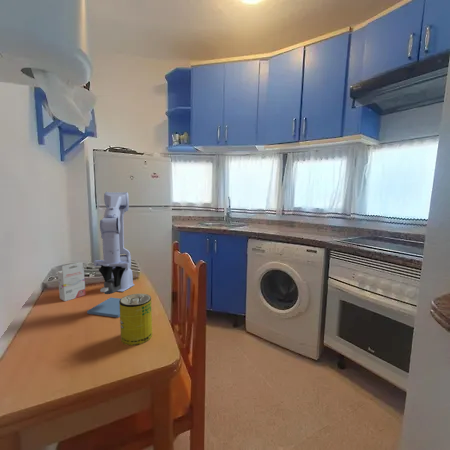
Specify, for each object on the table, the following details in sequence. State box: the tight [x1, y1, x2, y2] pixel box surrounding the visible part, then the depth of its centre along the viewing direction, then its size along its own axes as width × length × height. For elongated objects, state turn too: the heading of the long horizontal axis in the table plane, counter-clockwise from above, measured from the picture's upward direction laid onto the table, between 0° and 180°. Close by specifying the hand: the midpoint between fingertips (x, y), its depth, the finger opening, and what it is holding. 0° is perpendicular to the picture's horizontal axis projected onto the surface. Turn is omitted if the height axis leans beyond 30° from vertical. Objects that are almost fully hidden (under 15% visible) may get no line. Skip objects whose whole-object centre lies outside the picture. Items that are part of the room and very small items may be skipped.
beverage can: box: [119, 293, 153, 346], centre depth 80 cm, size 9×9×12 cm
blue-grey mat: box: [86, 297, 121, 319], centre depth 101 cm, size 13×13×1 cm
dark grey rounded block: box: [100, 278, 121, 295], centre depth 99 cm, size 9×3×4 cm, turn 166°
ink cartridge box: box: [57, 261, 86, 302], centre depth 111 cm, size 9×5×15 cm, turn 143°
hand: (113, 285), depth 100 cm, fingers closed on dark grey rounded block, 3 cm apart
